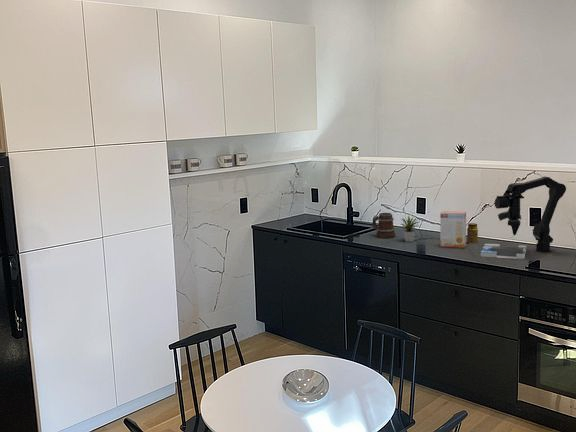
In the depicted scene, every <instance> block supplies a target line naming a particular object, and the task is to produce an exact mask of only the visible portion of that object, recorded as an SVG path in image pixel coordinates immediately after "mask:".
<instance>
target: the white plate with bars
mask: <svg viewBox="0 0 576 432" xmlns="http://www.w3.org/2000/svg"><path fill="white" fill-rule="evenodd" d="M492 246H495V247H501V244H500V243H498V244H497V243H484V246H483V247H482V250H481V251H480V257H483V258H500V259H517V260H525V257H526V252H527V245H518V247H517V248H523V254H516V257H514V256H497V251H491V247H492Z"/></svg>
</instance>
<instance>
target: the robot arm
mask: <svg viewBox="0 0 576 432" xmlns="http://www.w3.org/2000/svg"><path fill="white" fill-rule="evenodd" d="M543 186H545V187H546V188H548V200H547V202H546V206H545V208H544V211H543V213H542V216H541V219H540V221H539V223H538V224H537V223H534V226H533V229H532V236H533V237H534V238H535V241H537V243H536V245H535V247H536V249H535V251H536V252H540V253H549V252H550V251H551V244H552V243H553V242H554V238H553V237H552V236H551V235H550V232H551V229H550V227H551V225H550V224H551V221H552V220H553V219H552V218H553V216H554V213H555V211H556V209H557V205H558V203H559V201H560V199H562V198H563V196H564V195H565V193H566V191H567V187H566V185H565V184H564V183H560V182H558V181H556V180H554V179H552V178H551V177H550V176H542V177H540V178H535V179H532V180H528V181H525V182H513V183H510V184H508V185H507V188H506V190H505V192H504V193H503V195H496V197H495V200H494V203H493V205H494V206H495V208H496V209H506V208H507V209H508V210H507V211H503V212H500V213H498V215H497V217H498V220H499V221H503V220H506V219H507V226H510V227H511V230H512V235H513V236H516V235H517V234H518V230H519V228H520V226H521V223H522V222H521V220H522V215H521V199H524V198H525V196H523V195H522V194H524V193H526V191H529V190H532V189H536V188H539V187H543Z"/></svg>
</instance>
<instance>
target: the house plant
mask: <svg viewBox="0 0 576 432" xmlns="http://www.w3.org/2000/svg"><path fill="white" fill-rule="evenodd" d="M414 217H415V215H413V216H412V217H410V215H409V214H408V215H407V218H406V217H405V218H401V221H402V223H400V226H401V225H402V227H401V228H404V230H403V237H404V241H405V242H408V243H409V242H414V239H415V232H416V230H414V229H415V228H416V227H420V224H419V223H420V221H419V217H415V218H414Z"/></svg>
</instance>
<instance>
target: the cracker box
mask: <svg viewBox="0 0 576 432" xmlns="http://www.w3.org/2000/svg"><path fill="white" fill-rule="evenodd" d="M439 214H440V218H439V219H440V227H439V228H440V229H439V231H440V232H439V235H440V237H439V238H440V240H439V241H440V245H439V246H440V248H460V249H465V248H466V247H467V245H466V242H467V211H457V210H456V211H455V210H454V211H453V210H442V211H441V212H440V213H439Z"/></svg>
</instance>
